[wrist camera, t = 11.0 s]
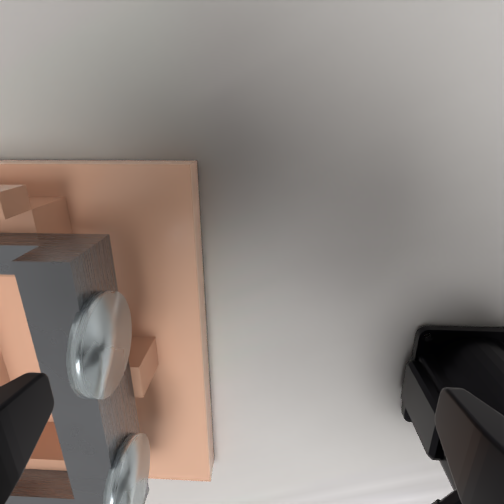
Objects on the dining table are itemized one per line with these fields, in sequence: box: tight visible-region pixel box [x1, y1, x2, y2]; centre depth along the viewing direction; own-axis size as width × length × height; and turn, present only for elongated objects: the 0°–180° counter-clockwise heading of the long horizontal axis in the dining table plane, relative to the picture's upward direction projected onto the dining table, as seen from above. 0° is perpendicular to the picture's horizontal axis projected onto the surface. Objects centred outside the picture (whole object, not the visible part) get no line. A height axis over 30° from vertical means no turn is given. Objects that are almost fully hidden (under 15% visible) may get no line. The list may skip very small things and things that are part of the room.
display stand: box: [0, 160, 214, 481], centre depth 18 cm, size 16×20×6 cm
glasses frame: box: [0, 233, 150, 504], centre depth 15 cm, size 10×15×4 cm
